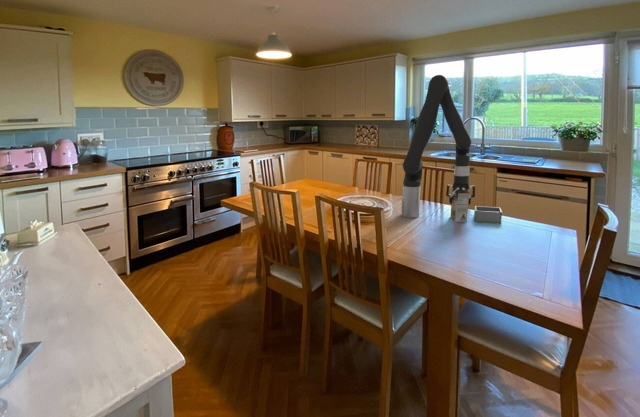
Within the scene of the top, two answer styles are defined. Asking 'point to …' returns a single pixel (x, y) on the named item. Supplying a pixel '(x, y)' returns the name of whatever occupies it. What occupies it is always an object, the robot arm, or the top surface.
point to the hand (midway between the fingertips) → (459, 204)
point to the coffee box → (459, 206)
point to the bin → (487, 214)
